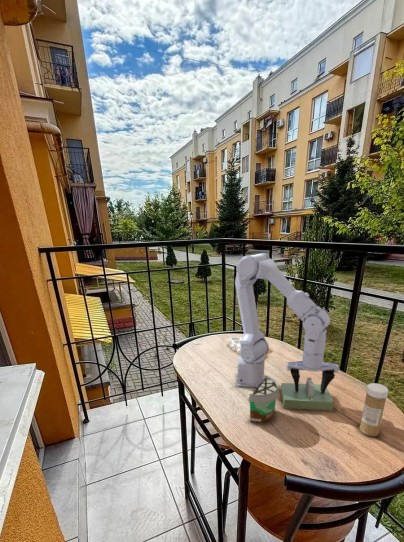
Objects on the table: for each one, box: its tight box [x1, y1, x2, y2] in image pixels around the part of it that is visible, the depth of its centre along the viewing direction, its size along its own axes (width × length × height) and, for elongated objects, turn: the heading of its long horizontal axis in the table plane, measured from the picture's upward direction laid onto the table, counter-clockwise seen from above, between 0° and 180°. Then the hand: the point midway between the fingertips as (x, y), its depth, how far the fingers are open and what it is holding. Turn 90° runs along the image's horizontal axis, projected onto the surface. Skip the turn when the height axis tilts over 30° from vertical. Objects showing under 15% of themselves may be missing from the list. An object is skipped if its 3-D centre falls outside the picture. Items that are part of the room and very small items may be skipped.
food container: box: [248, 375, 280, 425], centre depth 80 cm, size 12×6×10 cm, turn 148°
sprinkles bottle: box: [359, 382, 389, 437], centre depth 72 cm, size 5×5×14 cm
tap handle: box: [305, 376, 315, 397], centre depth 87 cm, size 5×1×4 cm, turn 170°
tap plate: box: [280, 382, 335, 412], centre depth 88 cm, size 14×10×3 cm
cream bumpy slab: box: [228, 336, 243, 355], centre depth 127 cm, size 3×18×15 cm
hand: (309, 390), depth 87 cm, fingers open, 7 cm apart
